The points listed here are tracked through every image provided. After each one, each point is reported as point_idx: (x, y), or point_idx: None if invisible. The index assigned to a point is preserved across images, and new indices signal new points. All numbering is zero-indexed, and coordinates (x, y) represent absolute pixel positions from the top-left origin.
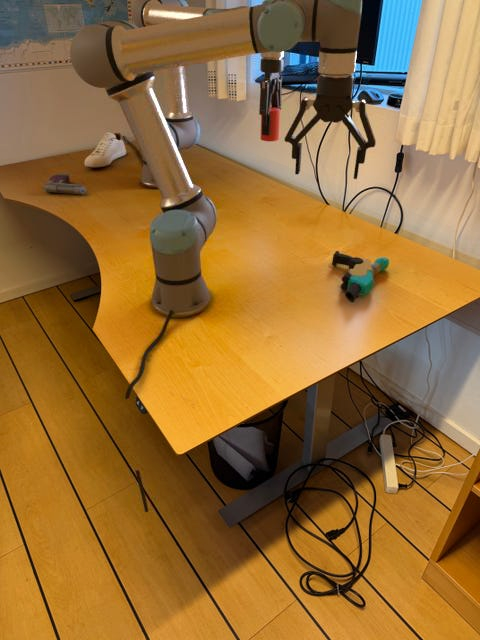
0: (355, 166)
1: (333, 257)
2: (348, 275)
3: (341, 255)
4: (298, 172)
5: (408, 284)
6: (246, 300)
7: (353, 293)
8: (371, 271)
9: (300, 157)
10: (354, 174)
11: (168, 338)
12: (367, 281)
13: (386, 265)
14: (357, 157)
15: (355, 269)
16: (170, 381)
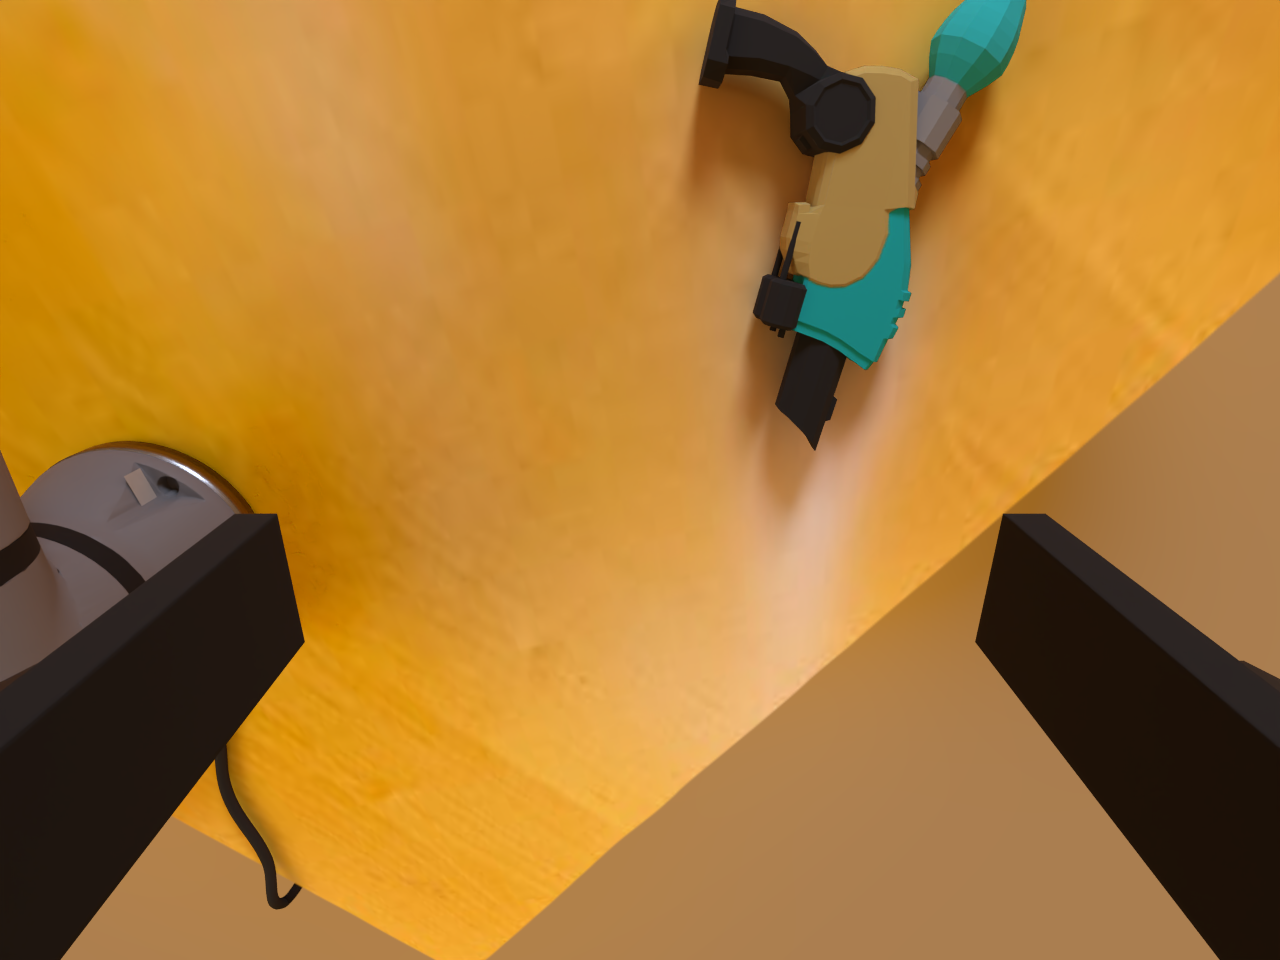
0: (1065, 752)
1: (705, 77)
2: (793, 310)
3: (751, 46)
4: (292, 646)
5: (1074, 172)
6: (388, 477)
7: (812, 431)
8: (909, 207)
9: (163, 670)
10: (1006, 674)
11: (244, 720)
12: (881, 324)
13: (999, 76)
14: (1173, 869)
15: (828, 218)
16: (349, 848)
